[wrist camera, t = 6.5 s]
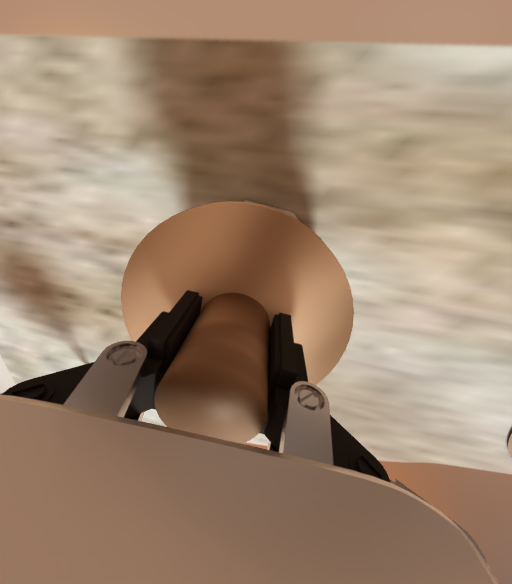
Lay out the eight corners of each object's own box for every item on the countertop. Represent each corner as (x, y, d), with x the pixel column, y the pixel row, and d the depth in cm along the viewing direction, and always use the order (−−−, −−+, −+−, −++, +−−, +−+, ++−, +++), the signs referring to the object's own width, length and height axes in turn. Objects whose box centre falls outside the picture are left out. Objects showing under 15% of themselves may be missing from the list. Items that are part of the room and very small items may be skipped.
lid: (388, 237, 11) (503, 294, 5) (306, 410, 16) (322, 531, 10) (133, 171, 10) (-23, 160, 5) (130, 369, 15) (51, 473, 10)
